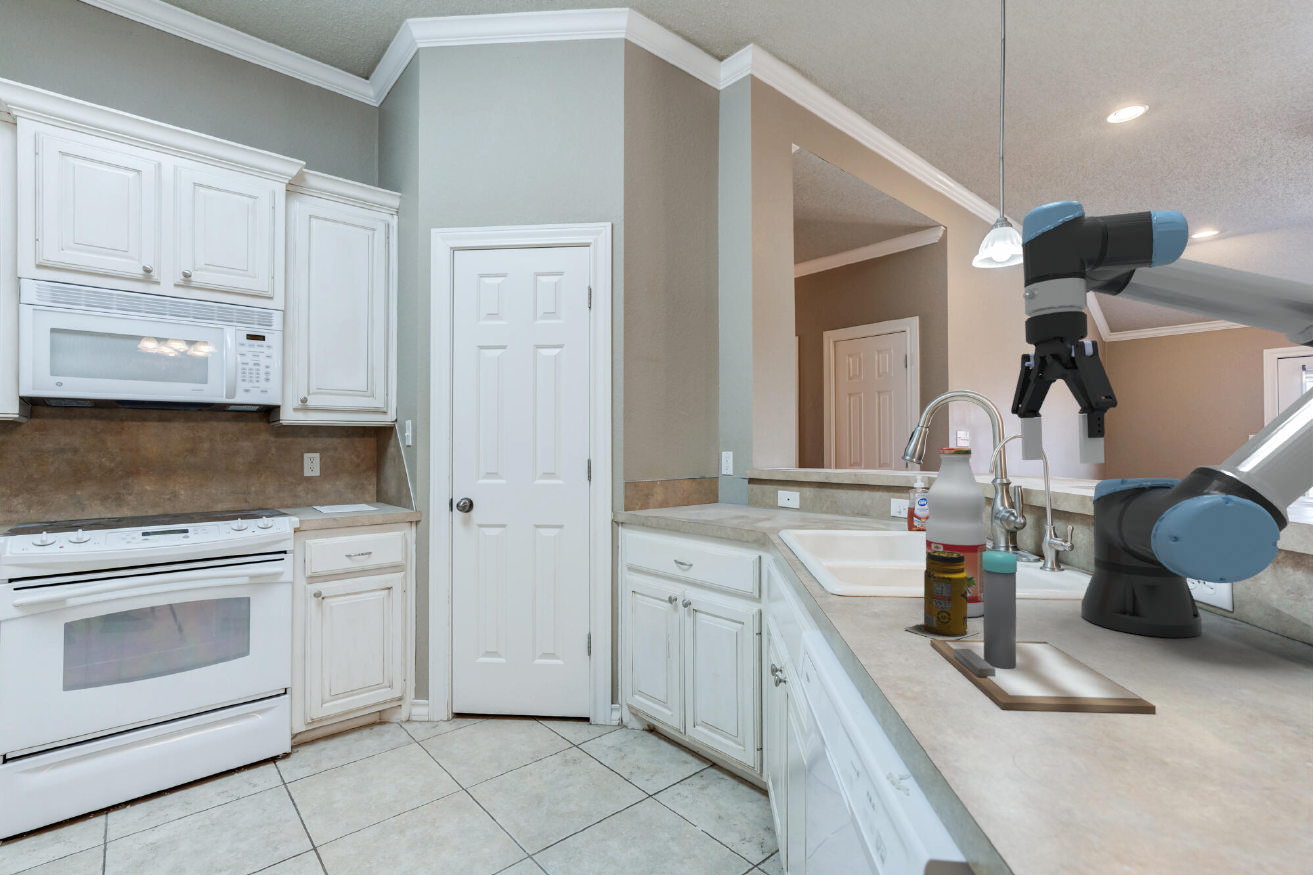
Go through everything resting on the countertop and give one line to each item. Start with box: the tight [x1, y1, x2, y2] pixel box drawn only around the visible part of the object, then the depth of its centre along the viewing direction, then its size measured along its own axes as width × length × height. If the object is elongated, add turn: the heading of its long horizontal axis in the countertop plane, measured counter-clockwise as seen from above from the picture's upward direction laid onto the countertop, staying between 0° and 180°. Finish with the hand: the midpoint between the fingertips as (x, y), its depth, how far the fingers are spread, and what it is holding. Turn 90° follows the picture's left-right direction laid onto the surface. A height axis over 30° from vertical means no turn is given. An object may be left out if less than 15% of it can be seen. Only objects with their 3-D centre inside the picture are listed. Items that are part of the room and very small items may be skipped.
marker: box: [983, 550, 1018, 669], centre depth 79 cm, size 4×4×14 cm
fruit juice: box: [925, 447, 987, 618], centre depth 106 cm, size 9×9×28 cm
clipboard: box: [930, 639, 1157, 715], centre depth 78 cm, size 16×21×2 cm
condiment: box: [903, 551, 980, 640], centre depth 95 cm, size 7×8×12 cm
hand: (1060, 461), depth 89 cm, fingers open, 13 cm apart
